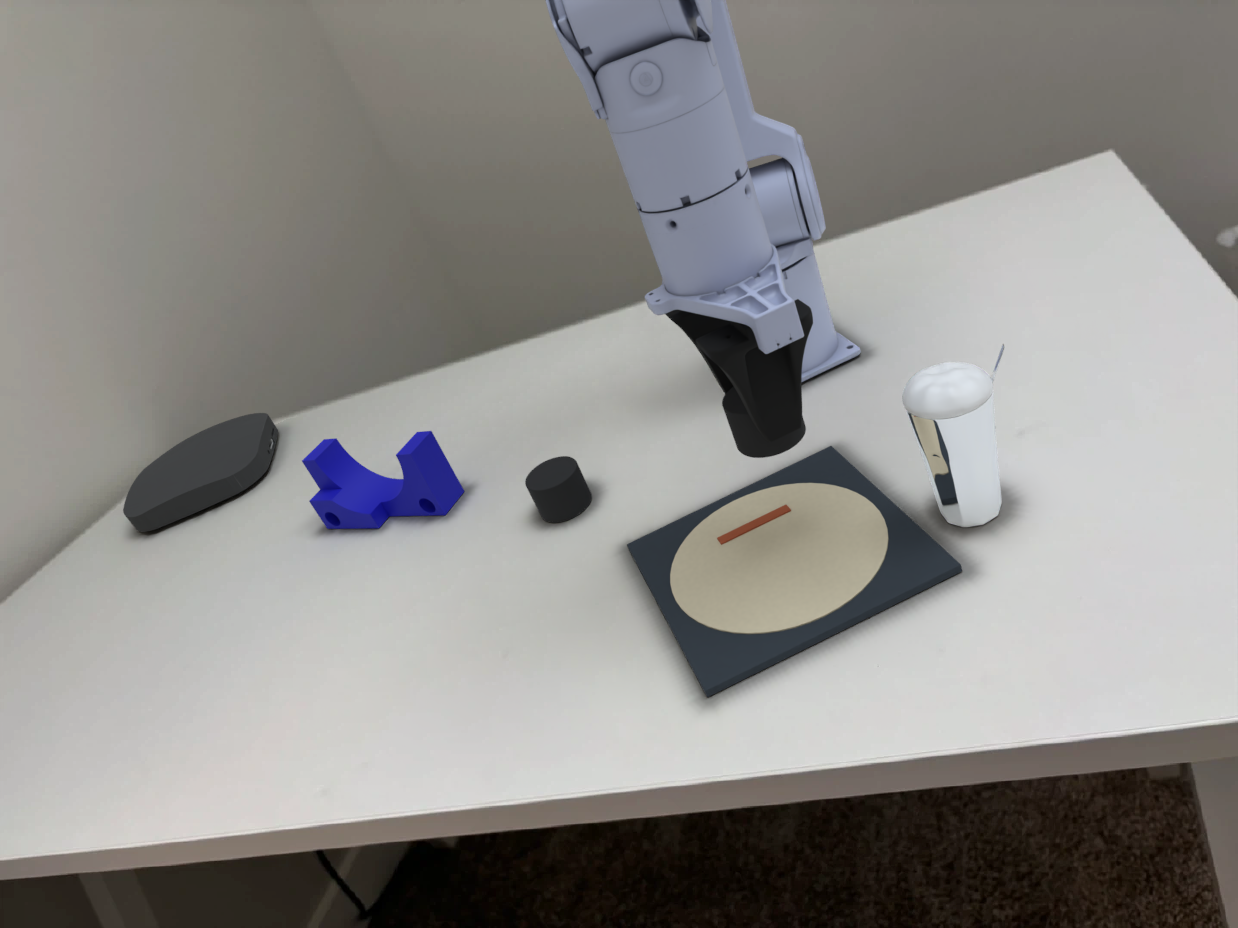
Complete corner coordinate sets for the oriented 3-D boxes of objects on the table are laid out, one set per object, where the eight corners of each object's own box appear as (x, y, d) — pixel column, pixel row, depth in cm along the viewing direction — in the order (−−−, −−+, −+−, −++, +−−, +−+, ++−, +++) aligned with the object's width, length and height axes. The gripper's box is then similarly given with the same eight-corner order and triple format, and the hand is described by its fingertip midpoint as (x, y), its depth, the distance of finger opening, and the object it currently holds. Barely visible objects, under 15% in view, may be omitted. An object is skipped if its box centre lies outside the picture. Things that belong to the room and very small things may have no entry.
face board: (628, 549, 62) (625, 541, 62) (832, 451, 63) (830, 442, 63) (707, 697, 49) (703, 688, 49) (962, 571, 50) (960, 561, 50)
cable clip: (327, 528, 80) (290, 472, 77) (358, 494, 83) (324, 439, 80) (435, 527, 73) (399, 466, 70) (464, 491, 76) (431, 430, 73)
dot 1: (536, 504, 71) (520, 472, 69) (584, 481, 71) (570, 448, 70) (546, 530, 67) (530, 497, 66) (597, 506, 68) (582, 473, 66)
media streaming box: (128, 545, 91) (109, 522, 90) (162, 474, 104) (145, 452, 102) (268, 485, 91) (251, 460, 90) (284, 420, 104) (270, 398, 102)
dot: (726, 437, 55) (711, 395, 54) (788, 408, 56) (774, 365, 54) (752, 467, 52) (737, 422, 50) (818, 436, 52) (804, 390, 51)
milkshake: (1036, 526, 51) (1010, 368, 46) (932, 541, 53) (896, 391, 48) (1023, 475, 54) (998, 324, 49) (926, 491, 56) (892, 347, 51)
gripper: (583, 192, 52) (663, 397, 59) (661, 257, 40) (751, 507, 47) (698, 140, 53) (764, 349, 60) (811, 187, 40) (878, 446, 47)
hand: (766, 415), depth 53 cm, fingers closed on dot, 4 cm apart
